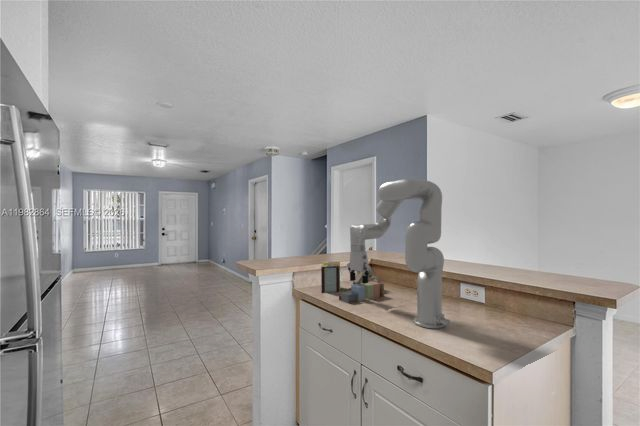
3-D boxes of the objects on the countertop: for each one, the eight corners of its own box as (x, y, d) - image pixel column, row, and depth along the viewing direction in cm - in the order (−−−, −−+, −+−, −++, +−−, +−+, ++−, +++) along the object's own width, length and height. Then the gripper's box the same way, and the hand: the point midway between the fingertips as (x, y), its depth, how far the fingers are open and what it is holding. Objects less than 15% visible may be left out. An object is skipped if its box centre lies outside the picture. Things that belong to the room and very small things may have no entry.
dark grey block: (357, 301, 155) (357, 293, 155) (348, 303, 152) (348, 295, 152) (350, 298, 160) (350, 290, 160) (340, 300, 157) (340, 292, 157)
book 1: (364, 299, 158) (364, 286, 158) (358, 301, 155) (358, 287, 155) (357, 297, 163) (357, 284, 162) (351, 298, 160) (351, 285, 160)
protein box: (340, 287, 189) (340, 262, 189) (339, 293, 173) (339, 266, 173) (323, 286, 190) (323, 261, 190) (321, 293, 174) (320, 266, 174)
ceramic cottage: (348, 288, 185) (350, 263, 184) (374, 287, 188) (375, 263, 187) (357, 297, 169) (359, 270, 169) (385, 296, 173) (386, 270, 172)
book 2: (373, 297, 161) (373, 284, 161) (368, 299, 159) (368, 285, 159) (366, 295, 166) (366, 282, 166) (360, 296, 164) (360, 283, 164)
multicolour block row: (383, 298, 163) (383, 283, 163) (350, 306, 150) (349, 289, 150) (372, 294, 171) (372, 280, 171) (338, 301, 158) (338, 286, 158)
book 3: (380, 296, 164) (379, 283, 164) (374, 297, 161) (374, 284, 161) (372, 294, 169) (372, 281, 169) (366, 295, 166) (366, 282, 166)
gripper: (374, 249, 154) (376, 283, 153) (352, 247, 168) (353, 278, 168) (363, 250, 149) (364, 285, 149) (341, 248, 164) (342, 280, 163)
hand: (358, 281), depth 158 cm, fingers open, 9 cm apart
